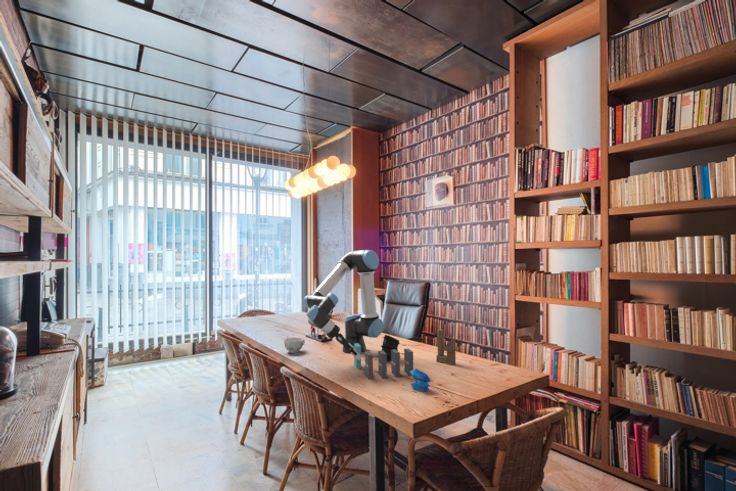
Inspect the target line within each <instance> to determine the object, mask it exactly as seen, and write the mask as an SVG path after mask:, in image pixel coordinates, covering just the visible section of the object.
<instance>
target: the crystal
mask: <svg viewBox="0 0 736 491" xmlns="http://www.w3.org/2000/svg"><path fill="white" fill-rule="evenodd" d="M410 373H411V375H412V376H411V377H412V378H413V379H414V380H415V381H413V382H411V383H410V386H411V388H412V389H413V390H415V391H419V392H427V391H429V390H430V388H429V387H430V384H429V382H430V383H431V381H432V380H431V379H430V377H429V375H428V374H427V373H426V372H423V371H421V370H420V369H418V368H413V370H411V371H410Z"/></svg>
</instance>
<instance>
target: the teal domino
mask: <svg viewBox="0 0 736 491" xmlns="http://www.w3.org/2000/svg"><path fill="white" fill-rule="evenodd" d="M354 349H355V350H356V351H357V352H358V353H359V354H360V355H361V356H362V352H361V346H360V345H359V344H358V343H356V344H354ZM353 357H354V361H353V363H354V364H353V365H354V367H355V369H356V370H359V369H360V370H361V369H362V358H361V359H360V360H358V359H357V358H356V357H355V356H354V355H353Z"/></svg>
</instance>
